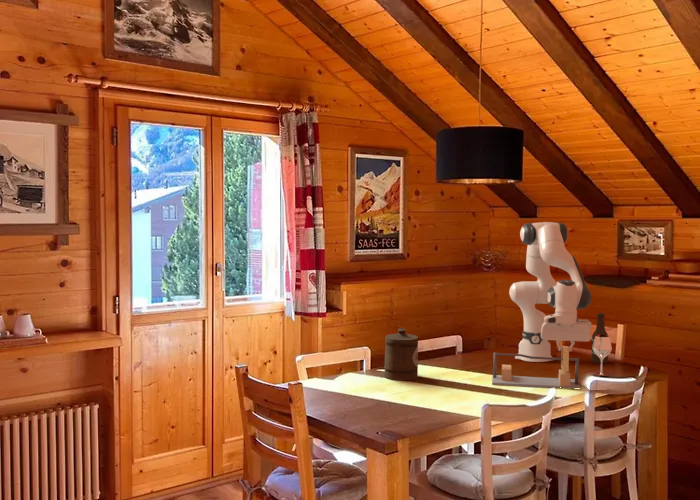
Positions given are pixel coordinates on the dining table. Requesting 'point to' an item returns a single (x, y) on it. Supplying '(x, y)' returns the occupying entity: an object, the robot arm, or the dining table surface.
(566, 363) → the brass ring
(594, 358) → the beer bottle
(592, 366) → the dining table surface
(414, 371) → the wooden container
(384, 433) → the dining table surface
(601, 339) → the wineglass
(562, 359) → the rod
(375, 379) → the dining table surface
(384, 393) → the dining table surface
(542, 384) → the stand
